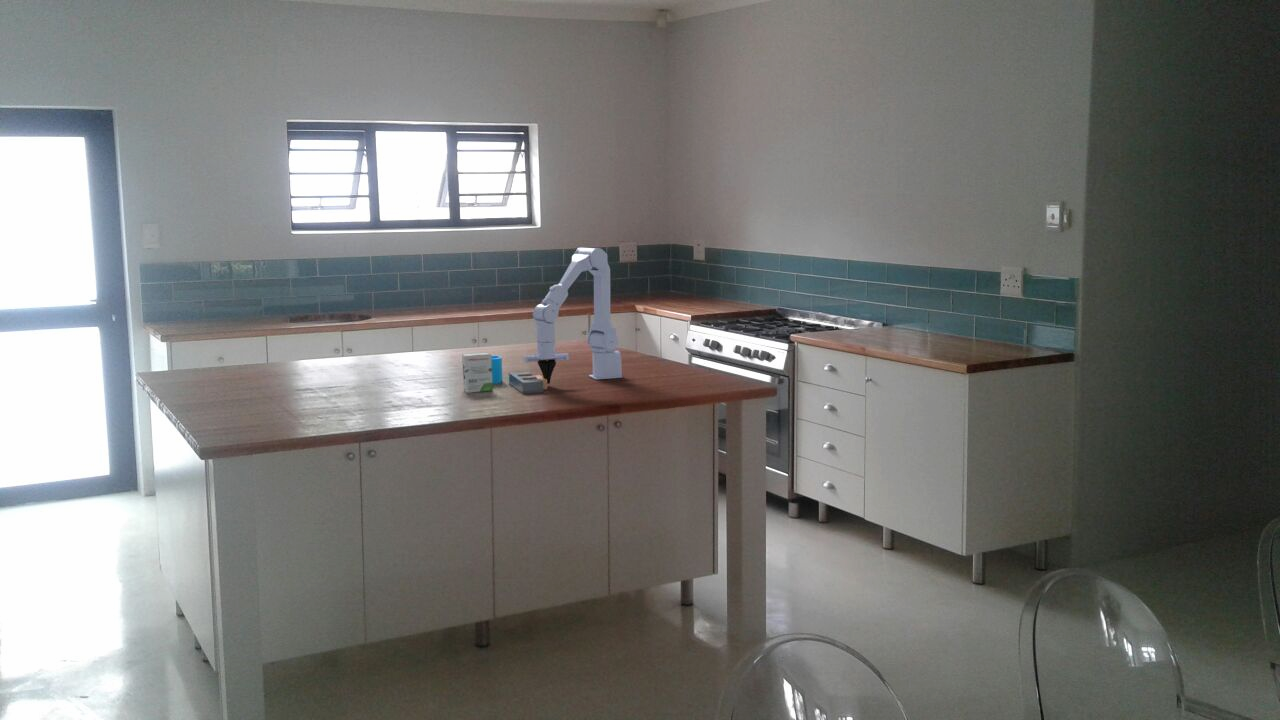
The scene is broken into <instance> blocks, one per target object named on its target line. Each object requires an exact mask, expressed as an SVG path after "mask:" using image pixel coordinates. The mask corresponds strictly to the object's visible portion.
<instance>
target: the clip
mask: <svg viewBox="0 0 1280 720" xmlns="http://www.w3.org/2000/svg"><path fill="white" fill-rule="evenodd" d="M532 376H536V377H537V379H540V380H542V381H543V390H548V384H547V379H545V378H544V377H543V375H541V374H537V375H532Z"/></svg>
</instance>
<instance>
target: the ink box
mask: <svg viewBox="0 0 1280 720" xmlns="http://www.w3.org/2000/svg"><path fill="white" fill-rule="evenodd" d="M491 356H492V354H490V353H489V352H482V353H464V354H461V358H462V359H461V360H462V363H461V364H462V381H463V384H462V385H463V392H465V393H467V394H469V393H479V392H491V391H493V390H494V386H493V385H494V384H493V382H492V361H491Z"/></svg>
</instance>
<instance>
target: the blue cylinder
mask: <svg viewBox="0 0 1280 720" xmlns="http://www.w3.org/2000/svg"><path fill="white" fill-rule="evenodd" d="M502 359H503V357H502V356H501V355H491V361H492V382H493V385H494V384H501V383H503V360H502Z"/></svg>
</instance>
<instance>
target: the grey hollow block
mask: <svg viewBox="0 0 1280 720" xmlns="http://www.w3.org/2000/svg"><path fill="white" fill-rule="evenodd" d="M508 380H509V382H508V384H509V385H510V386H512V387H513V388H514V389H516V390H517V391H519V392H520V393H521V394H522V395H524V394H525V395H526V394H537V393H544V389H543V381H542V380H540V379H537V377H536V376H533V375H532V373H531V372H530V371H521V372H518V371H517V372H508Z"/></svg>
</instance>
